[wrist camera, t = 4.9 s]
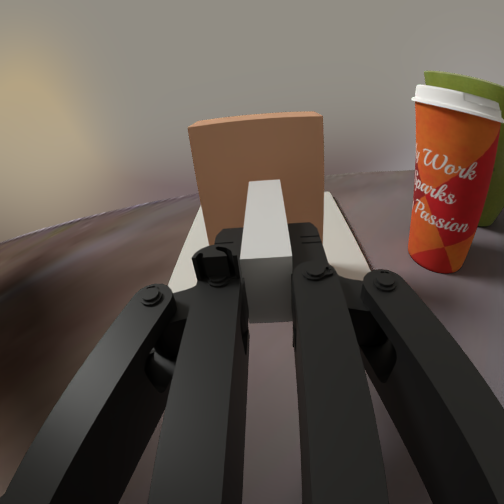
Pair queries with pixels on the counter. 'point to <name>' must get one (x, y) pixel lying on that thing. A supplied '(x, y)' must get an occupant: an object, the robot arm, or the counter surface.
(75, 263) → the counter surface
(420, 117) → the paper cup
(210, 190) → the card box
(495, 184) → the flower pot
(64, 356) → the counter surface
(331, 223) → the mat
